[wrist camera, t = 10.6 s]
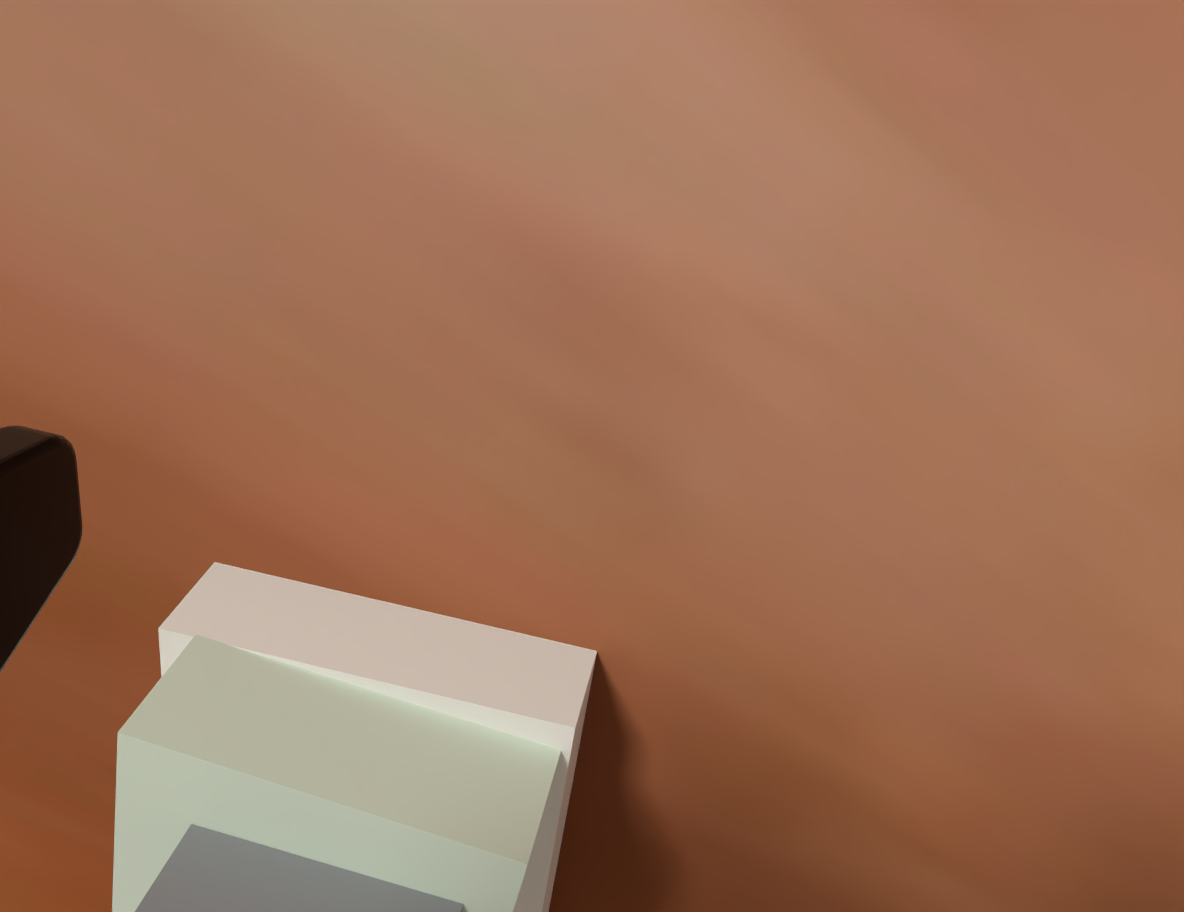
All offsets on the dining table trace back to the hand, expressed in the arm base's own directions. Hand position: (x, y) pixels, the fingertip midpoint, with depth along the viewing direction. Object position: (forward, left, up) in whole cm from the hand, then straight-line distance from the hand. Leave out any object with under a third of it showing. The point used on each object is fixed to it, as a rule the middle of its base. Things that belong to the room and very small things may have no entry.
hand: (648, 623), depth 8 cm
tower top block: (+6, +15, -10) cm, 19 cm away
